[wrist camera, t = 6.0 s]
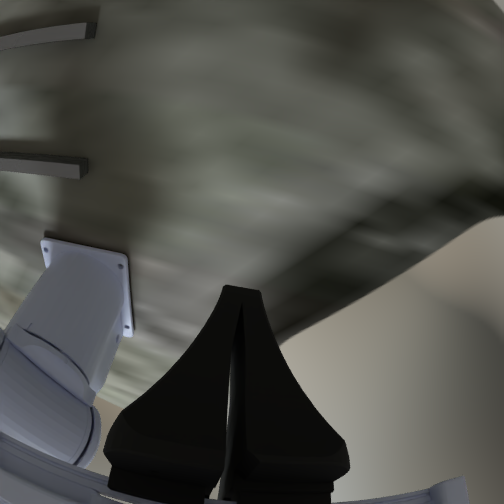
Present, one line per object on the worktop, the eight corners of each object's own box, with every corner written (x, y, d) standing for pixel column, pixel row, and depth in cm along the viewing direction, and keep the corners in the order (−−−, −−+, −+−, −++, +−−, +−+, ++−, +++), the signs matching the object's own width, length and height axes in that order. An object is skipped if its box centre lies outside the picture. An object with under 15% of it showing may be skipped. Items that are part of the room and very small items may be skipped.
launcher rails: (88, 172, 19) (79, 179, 18) (-30, 161, 18) (-39, 167, 17) (96, 23, 13) (86, 22, 12) (-34, 47, 12) (-44, 49, 11)
